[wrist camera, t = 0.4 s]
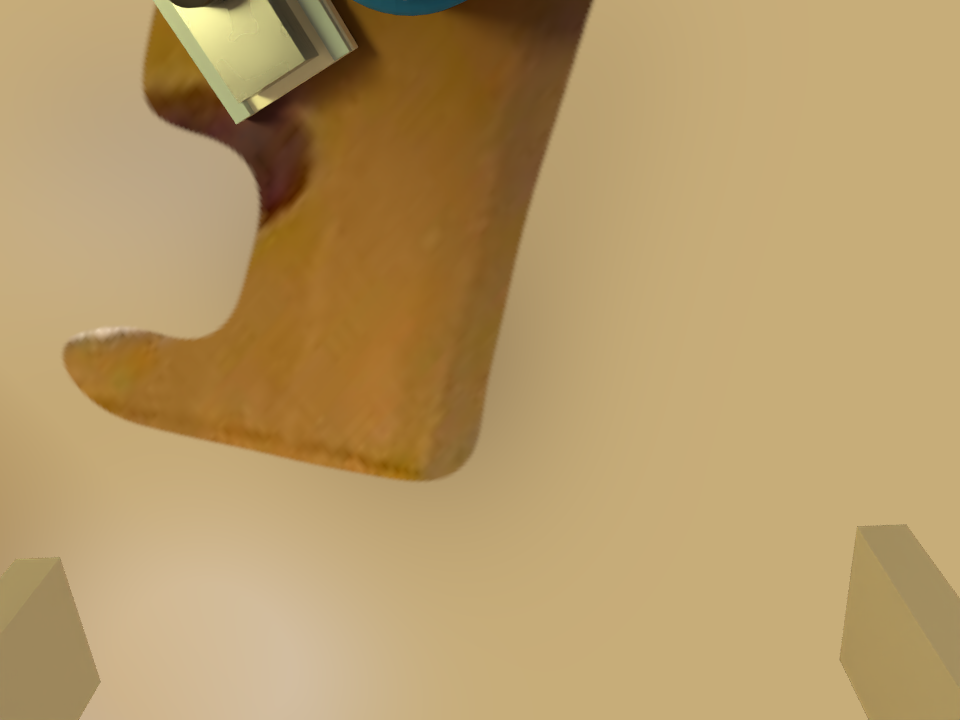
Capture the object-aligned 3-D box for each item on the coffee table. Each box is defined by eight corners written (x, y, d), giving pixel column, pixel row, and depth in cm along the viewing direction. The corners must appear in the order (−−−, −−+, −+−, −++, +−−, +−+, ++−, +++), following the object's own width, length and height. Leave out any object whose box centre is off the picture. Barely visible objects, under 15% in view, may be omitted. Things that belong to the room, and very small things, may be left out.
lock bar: (161, -50, 32) (110, -54, 28) (225, -96, 31) (182, -108, 27) (257, 95, 34) (221, 111, 30) (319, 55, 33) (292, 65, 29)
